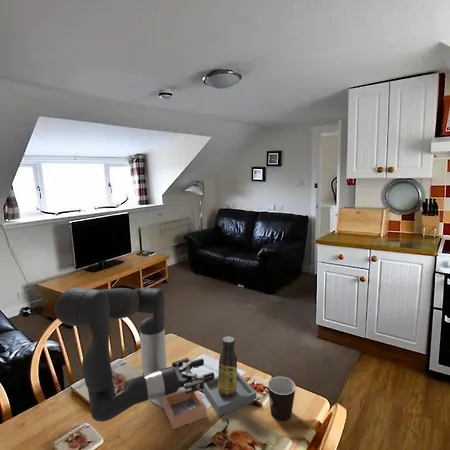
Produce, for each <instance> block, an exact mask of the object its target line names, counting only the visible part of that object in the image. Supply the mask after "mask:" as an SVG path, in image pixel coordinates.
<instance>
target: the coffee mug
mask: <svg viewBox="0 0 450 450" xmlns="http://www.w3.org/2000/svg"><path fill="white" fill-rule="evenodd" d="M296 387H297V386H296V384H295V382H294V381H293V380H292V379H290V378H289V377H286V376H275V375H271V377H270V379H269V380H268V381H267V390H268V391H267V392H268V400H269V408H270V415H271V416H272V418H273V419H274V420H276V421H279V422H287V421H289V420H290V419H291V417H292V413H293V407H294V401H295V394H296Z"/></svg>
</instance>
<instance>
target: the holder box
mask: <svg viewBox="0 0 450 450" xmlns="http://www.w3.org/2000/svg"><path fill="white" fill-rule="evenodd" d="M198 392H199V391H195V392H191V393H188V394H186V393H185V388H184V389H181V390H178V391H177V392H175V393H172V394H169V395H166V396H163V397H161V398H162V407H163V409H164V411H165V414H166V416H167V419H168V421H169V424H170V426H171V428H172V430H175V429H177V428H181V427H183V426H185V425H188V424H190V423H194V422H197V421H199V420H202V419H204V418H207V416H208V414H207V406H206V403H204V400H203V399H202V397H201V396H200V394H199V393H198ZM192 398H193V399H192ZM191 399H192V400H193V402H194V404H195V405H196V407H195V408H192V409H189V410H186V411H184V412H181V413H178V414H177V415H176V414H175V413H174V411H173V409H172V407H171V406H174V405H176V404H179V403H182V402H185V401H189V400H191Z"/></svg>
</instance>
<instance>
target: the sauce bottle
mask: <svg viewBox="0 0 450 450" xmlns="http://www.w3.org/2000/svg"><path fill="white" fill-rule="evenodd" d="M235 342H236V340H235V338H234V337H232V336H231V335H227V336H224V337H223V338H222V351H221V353H220V354H219V361H218V389H219V394H220V395H221V396H223V397H232V396H233V395H234V394H235V392H236V382H237V372H238V365H237V364H238V357H237V355H236V353H235Z"/></svg>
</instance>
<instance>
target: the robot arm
mask: <svg viewBox="0 0 450 450" xmlns="http://www.w3.org/2000/svg"><path fill="white" fill-rule="evenodd" d="M165 306H166V297H165V292H164V290H163V289H162V288H157V287H156V288H155V287H140V288H136V289H132V288H128V287H127V288H126V287H117V288H104V289H95V288H94V289H93V288H85V287H71V288H68V289H67V290H65V291H64V292H62V293H61V294H60V295H59V297H58V298H57V299H56V302H55V306H54V313H55V316H56V318H57V319H58V321H59V322H61V323H62V324H63V325H66V326H73V327H80V328H88V329H89V331H90V333H91V341H90V343H89V346H88V347H87V349H86V351H85V353H84V355H83V358H82V362H81V363H82V364H81V367H82V372H83V378H84V384H85V386H86V388H87V393H88V399H89V400H88V401H89V408H90V415H91V417H92V419H93V420H95V422H107V421H110V420H113V419H114V418H116V417H117V416H119V415H120V414H122V413H123V412H125V411H127V410H128V409H130V408H132V407H133V406H134V405H138V404H140V403H144V402H147V401H151V400H157V399H159V398H162V397H163V396H166V395H169V394H172V393H175V392H178V391H179V389H180V388H184V389H185V393H186V394H188V393H191V392H195V391H197V392H199V391H202V389H204V383H206V382H209V381H212V380H214V377H215V373H214V372H212V371H211V372H209V373H206V374H202V375H198V374H197V373H193V372H192V371H191V370H192V369H195V368H200V367H202V366H204V365H205V361H204V358H198V359H195V360H192V359H189V358H188V357H186V358H181V359H180V360H176V361H172V362H171V366H168V367H167V352H166V349H167V348H166V331H165V322H166V314H165V313H166V312H165V311H166V310H165V309H166V307H165ZM135 313H139V314H140V313H141V314H152V316H150V317H146V318H145V319H143V320H141V322H140V323H139V338H140V355H141V372H143V373H142V374H145V375H140V376H136V377H134V378H130V379H127V380H126V381H125V382H124V385H123V391H121V392H119V393H118V394H116V390H115V385H114V380H113V370H112V363H111V358H110V350H109V349H110V348H109V347H110V320H120V319H125V318H128V317H131V316H133V315H134V314H135Z"/></svg>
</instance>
